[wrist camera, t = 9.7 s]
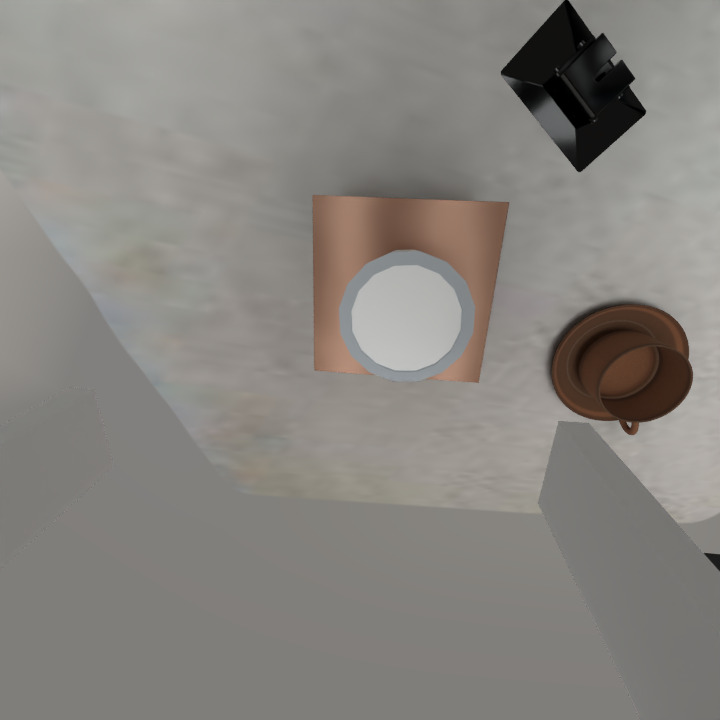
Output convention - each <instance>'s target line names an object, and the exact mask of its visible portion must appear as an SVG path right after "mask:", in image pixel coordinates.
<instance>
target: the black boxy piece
mask: <svg viewBox="0 0 720 720" xmlns="http://www.w3.org/2000/svg"><path fill="white" fill-rule="evenodd" d="M615 54H616V50H615V49H614V48H613V46H612V45H611V43H610V42H609V41H608V39H607V38H606V36H605V35H604V33H602V34H600V35H599V36H598V37H597V38H595V37H594V35H592V33H591V32H590V31H589V29H588V28H587V26H586V25H585V23H584V22H583V21H582V19H581V18H580V16H579V15H578V14H577V12H576V11H575V9H574V8H573V6H572V5H571V4H570V2H569V1H568V0H565V1H564V2H563V3H562V4H561V5H560V6H559V7H558V8H557V9H556V11H555V12H554V13H553V14H552V15H551V16H550V17H549V18H548V19H547V21H546V22H545V23H544V24H543V25H542V26H541V27H540V28H539V29H538V31H537V32H536V33H535V34H534V35H533V36H532V37H531V38H530V39H529V41H528V42H527V43H526V44H525V45H524V46H523V47H522V48H521V50H520V51H519V52H518V53H517V54H516V55H515V56H514V57H513V58H512V60H511V61H510V62H509V63H508V64H507V65H506V66H505V67H504V68H503V70H502V71H501V75H502V77H503V78H504V79H505V80H506V82H507V83H508V84H509V85H510V87H511V88H512V89H513V90H514V92H515V93H516V94H517V95H518V97H519V98H520V99H521V100H522V102H523V103H524V104H525V106H526V107H527V108H528V109H529V111H530V112H531V113H532V114H533V116H534V117H535V118H536V119H537V121H538V122H539V123H540V124H541V126H542V127H543V128H544V129H545V131H546V132H547V133H548V135H549V136H550V137H551V138H552V140H553V141H554V142H555V143H556V145H557V146H558V147H559V148H560V150H561V151H562V152H563V153H564V155H565V156H566V157H567V158H568V160H569V161H570V162H571V164H572V165H573V166H574V167H575V169H576V170H577V171H578V172H581V171H582V170H583V169H585V168H586V167H587V166H588V165H589V164H590V163H591V162H592V161H594V160H595V159H596V158H597V157H598V156H599V155H600V154H601V153H602V152H604V151H605V150H606V149H607V148H608V147H609V146H610V145H611V144H613V143H614V142H615V141H616V140H617V139H618V138H619V137H620V136H622V135H623V134H624V133H625V132H626V131H627V130H628V129H629V128H630V127H632V126H633V125H634V124H635V123H636V122H637V121H638V120H639V119H641V118H642V117H643V116H644V115H645V114H646V110H645V109H644V107H643V106H642V104H641V103H640V102H639V100H638V99H637V97H636V96H635V94H634V93H633V92H632V90H631V89H630V86H629V84H631V83H632V82H633V81H634V80H635V77H634V76H633V75H632V73H631V72H630V70H629V69H628V68H627V66H626V65H625V63H624V62H623V60H621V61H619V62H618V63H617V64H616V65H615V66H614V65H613V63H612V62H611V60H610V59H611V58H612V57H613V56H614V55H615Z"/></svg>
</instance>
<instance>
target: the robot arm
mask: <svg viewBox="0 0 720 720" xmlns="http://www.w3.org/2000/svg"><path fill="white" fill-rule="evenodd" d="M113 467H114V464H113V460H112V456H111V452H110V448H109V445H108V440H107V437H106V433H105V429H104V425H103V421H102V418H101V414H100V410H99V406H98V402H97V398H96V395H95V391H94V389H87V388H73V387H69V388H67V389H66V390H64V391H62V392H60V393H58V394H56V395H54V396H53V397H51V398H49V399H47V400H45V401H44V402H42V403H40V404H38V405H36V406H34V407H32V408H31V409H29V410H27V411H25V412H23V413H22V414H20V415H18V416H16V417H14V418H12V419H10V420H8V421H7V422H5V423H3V424H1V425H0V570H1V569H2V568H3V567H4V566H5V565H6V564H7V563H8V562H9V561H11V560H12V559H13V558H14V557H15V556H16V555H17V554H18V553H20V552H21V551H22V550H23V549H24V548H25V547H26V546H27V545H28V544H29V543H31V542H32V541H33V540H34V539H35V538H36V537H37V536H38V535H39V534H40V533H41V532H43V531H44V530H45V529H46V528H47V527H48V526H49V525H50V524H51V523H53V522H54V521H55V520H56V519H57V518H58V517H59V516H60V515H61V514H63V513H64V511H66V510H67V509H68V508H69V507H70V506H71V505H72V504H74V503H75V502H76V501H77V500H78V499H79V498H80V497H81V496H82V495H83V494H85V493H86V492H87V491H88V490H89V489H90V488H91V487H92V486H93V485H95V484H96V482H98V481H99V480H100V479H101V478H102V477H103V476H104V475H106V474H107V473H108V472H109V471H110V470H111V469H112V468H113ZM538 504H539V506H540V508H541V510H542V512H543V515H544V517H545V519H546V521H547V523H548V525H549V527H550V529H551V532H552V534H553V536H554V538H555V540H556V542H557V544H558V546H559V549H560V551H561V553H562V555H563V557H564V559H565V561H566V563H567V565H568V568H569V570H570V572H571V574H572V576H573V578H574V580H575V582H576V585H577V587H578V589H579V591H580V593H581V595H582V597H583V600H584V602H585V604H586V606H587V608H588V610H589V612H590V614H591V616H592V619H593V621H594V623H595V625H596V627H597V629H598V631H599V633H600V636H601V638H602V640H603V642H604V644H605V646H606V648H607V650H608V653H609V654H610V657H611V659H612V661H613V663H614V665H615V667H616V670H617V672H618V674H619V676H620V678H621V680H622V682H623V684H624V687H625V689H626V690H627V693H628V695H629V697H630V699H631V701H632V703H633V706H634V708H635V710H636V712H637V714H638V716H639V718H640V720H720V554H709V553H703V552H702V551H701V550H700V549H699V548H698V547H697V546H696V544H695V543H694V542H693V541H692V540H691V539H690V537H689V536H688V535H687V534H686V533H685V532H684V531H683V529H682V528H681V527H680V526H679V525H678V524H677V523H676V522H675V520H674V519H673V518H672V517H671V516H670V515H669V514H668V512H667V511H666V510H665V509H664V508H663V507H662V506H661V505H660V503H659V502H658V501H657V500H656V499H655V498H654V497H653V495H652V494H651V493H650V492H649V491H648V490H647V489H646V488H645V486H644V485H643V484H642V483H641V482H640V481H639V480H638V478H637V477H636V476H635V475H634V474H633V473H632V472H631V470H630V469H629V468H628V467H627V466H626V465H625V464H624V463H623V461H622V460H621V459H620V458H619V457H618V456H617V455H616V453H615V452H614V451H613V450H612V449H611V448H610V447H609V446H608V444H607V443H606V442H605V441H604V440H603V439H602V438H601V436H600V435H599V434H598V433H597V432H596V431H595V430H594V429H593V427H592V426H591V425H590V424H589V423H579V422H564V421H559V422H558V426H557V430H556V434H555V438H554V442H553V446H552V450H551V454H550V457H549V461H548V465H547V469H546V473H545V477H544V481H543V485H542V489H541V493H540V497H539V501H538Z"/></svg>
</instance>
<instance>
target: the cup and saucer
mask: <svg viewBox="0 0 720 720" xmlns="http://www.w3.org/2000/svg"><path fill="white" fill-rule="evenodd" d="M688 358H689V345H688V340H687V337H686V334H685V332H684V330H683V328H682V327H681V325H680V324H679V323H678V322H677V321H676V320H675V319H674V318H673V317H672V316H670V315H669V314H667V313H666V312H664V311H662V310H659V309H657V308H654V307H650V306H645V305H635V304H628V305H618V306H613V307H609V308H606V309H603V310H600V311H598V312H596V313H593V314H592V315H590V316H588V317H586V318H585V319H583V320H582V321H580V322H579V323H578V324H576V325H575V326H574V327H573V328H572V329H571V330H570V331H569V332H568V333H567V334H566V336H565V337H564V338H563V340H562V341H561V343H560V344H559V346H558V348H557V350H556V353H555V355H554V359H553V363H552V381H553V385H554V388H555V391H556V393H557V395H558V397H559V398H560V400H561V401H562V402H563V403H564V404H565V405H566V406H567V407H568V408H569V409H570V410H572V411H573V412H575V413H577V414H578V415H581V416H583V417H586V418H589V419H594V420H601V421H614V420H619V422H620V424H621V426H622V428H623V430H624V431H625V432H626V433H627V434H629V435H634V434H636V433H637V431H638V427H639V422H647V421H651V420H655V419H658V418H660V417H662V416H664V415H666V414H668V413H670V412H671V411H672V410H674V409H675V408H676V407H677V406H678V405H680V404H681V402H682V401H683V400H684V399H685V397H686V396H687V394H688V392H689V390H690V388H691V385H692V381H693V371H692V367H691V364H690V362H689V361H688ZM626 422H632V425H631V428H630V427H629V426H628V425H627V423H626Z"/></svg>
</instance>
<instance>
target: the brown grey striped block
mask: <svg viewBox="0 0 720 720" xmlns="http://www.w3.org/2000/svg"><path fill="white" fill-rule="evenodd" d="M508 207H509V202H485V201H459V200H432V199H405V198H379V197H352V196H326V195H313V276H314V370H315V371H329V372H342V373H355V374H369V375H375V374H372V373H370V372H369V371H367V370H366V369H365V368H364V367H363V366H362V365H361V364H360V363H358V362H357V361H356V360H355V359H354V358H353V357H352V356H351V354H350V352H349V350H348V348H347V346H346V344H345V342H344V340H343V338H342V336H341V334H340V320H339V307H340V304H341V301H342V298H343V295H344V293H345V290H346V287H347V284H348V283H349V282H350V281H351V280H352V279H353V278H354V276H355V275H356V274H357V273H358V272H359V271H360V270H361V269H362V268H363V267H364V266H365V264H367V263H369V262H371V261H373V260H375V259H378V258H380V257H382V256H384V255H386V254H388V253H391V252H393V251H395V250H411V249H414V250H418V251H421V252H424V253H426V254H429V255H431V256H434V257H436V258H439V259H441V260H444V261H446V262H448V263H449V264H450V265H451V266H452V268H453V269H454V270H455V271H456V272H457V273H458V274H459V275H460V276H461V277H462V278H463V279H464V280H465V281H466V282H467V285H468V288H469V291H470V294H471V296H472V299H473V302H474V305H475V317H474V330H473V335H472V336H471V338H470V340H469V342H468V344H467V346H466V348H465V350H464V352H463V354H462V356H461V357H460V358H458V359H457V360H456V361H455V362H454V363H453V364H452V365H450V366H449V367H448V368H447V369H446V370H445V371H443V372H442V373H440V374H437V375H434V376H432V377H429V378H426V379H436V380H449V381H463V382H476V383H479V377H480V371H481V366H482V360H483V354H484V348H485V342H486V336H487V330H488V324H489V319H490V313H491V307H492V301H493V295H494V289H495V283H496V277H497V272H498V266H499V260H500V254H501V248H502V242H503V236H504V230H505V225H506V219H507V213H508Z"/></svg>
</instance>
